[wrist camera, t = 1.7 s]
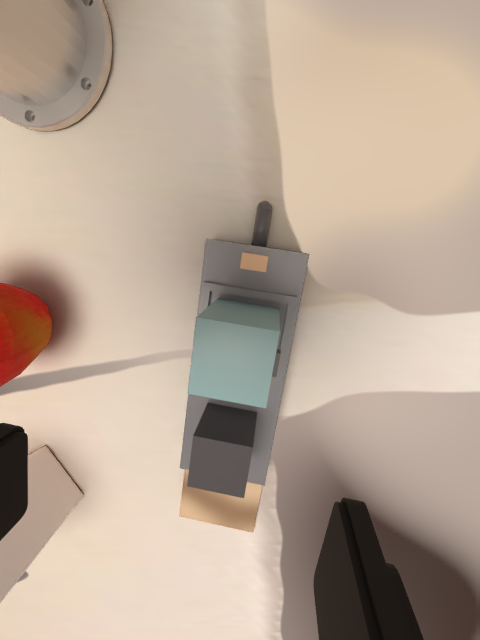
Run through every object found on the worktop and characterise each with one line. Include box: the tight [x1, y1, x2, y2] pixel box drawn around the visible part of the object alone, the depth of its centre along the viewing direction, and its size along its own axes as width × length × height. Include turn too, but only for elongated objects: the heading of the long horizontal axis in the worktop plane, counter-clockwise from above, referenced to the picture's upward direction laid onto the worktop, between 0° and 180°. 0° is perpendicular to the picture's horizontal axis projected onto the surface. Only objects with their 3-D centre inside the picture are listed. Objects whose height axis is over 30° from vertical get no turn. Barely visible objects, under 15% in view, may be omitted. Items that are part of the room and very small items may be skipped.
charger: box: [188, 299, 281, 408], centre depth 23 cm, size 5×5×7 cm
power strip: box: [180, 201, 309, 498], centre depth 26 cm, size 25×8×8 cm, turn 172°
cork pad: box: [179, 469, 262, 532], centre depth 33 cm, size 6×8×1 cm
